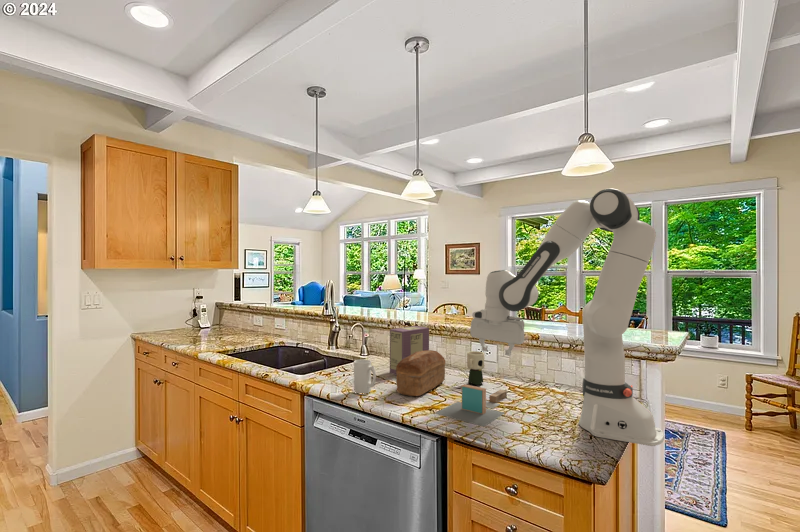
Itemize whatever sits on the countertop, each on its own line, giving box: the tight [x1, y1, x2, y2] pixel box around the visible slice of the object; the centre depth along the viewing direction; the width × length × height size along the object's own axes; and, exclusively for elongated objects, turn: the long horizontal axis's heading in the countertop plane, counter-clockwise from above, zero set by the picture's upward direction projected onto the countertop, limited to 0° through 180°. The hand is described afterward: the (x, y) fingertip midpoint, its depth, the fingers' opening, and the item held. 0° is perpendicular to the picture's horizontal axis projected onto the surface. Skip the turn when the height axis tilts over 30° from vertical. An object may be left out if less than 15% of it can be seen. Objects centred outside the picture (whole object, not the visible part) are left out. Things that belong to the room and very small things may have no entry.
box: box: [389, 325, 430, 376], centre depth 193 cm, size 17×9×20 cm, turn 133°
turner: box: [486, 389, 508, 410], centre depth 148 cm, size 15×6×3 cm, turn 141°
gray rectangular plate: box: [434, 401, 506, 427], centre depth 136 cm, size 18×15×1 cm
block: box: [461, 384, 487, 414], centre depth 138 cm, size 8×2×8 cm, turn 51°
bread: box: [395, 349, 446, 397], centre depth 166 cm, size 12×28×14 cm, turn 150°
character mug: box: [466, 350, 486, 386], centre depth 172 cm, size 11×7×13 cm, turn 145°
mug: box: [353, 358, 377, 394], centre depth 160 cm, size 10×7×12 cm, turn 53°
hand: (496, 353), depth 150 cm, fingers open, 8 cm apart
